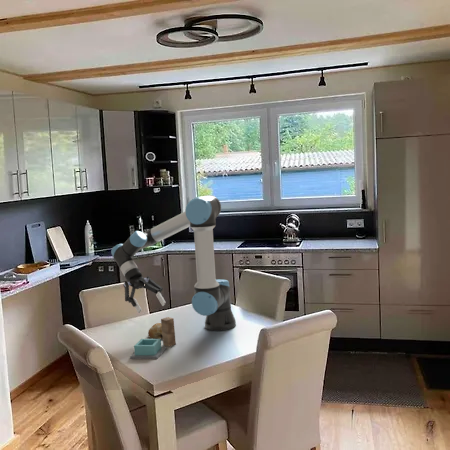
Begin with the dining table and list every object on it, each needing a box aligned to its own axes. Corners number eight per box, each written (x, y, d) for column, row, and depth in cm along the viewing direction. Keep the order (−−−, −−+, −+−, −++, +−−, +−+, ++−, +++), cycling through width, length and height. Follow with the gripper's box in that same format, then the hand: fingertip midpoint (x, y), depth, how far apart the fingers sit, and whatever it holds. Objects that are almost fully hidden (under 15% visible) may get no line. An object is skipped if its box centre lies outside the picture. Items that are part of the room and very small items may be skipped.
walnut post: (170, 342, 236) (168, 316, 235) (175, 344, 233) (173, 318, 232) (163, 345, 233) (160, 319, 232) (168, 346, 230) (166, 320, 229)
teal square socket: (166, 348, 228) (165, 337, 228) (157, 358, 217) (156, 347, 216) (140, 348, 231) (139, 337, 230) (130, 358, 219) (129, 347, 219)
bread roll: (151, 347, 242) (153, 334, 238) (144, 333, 250) (145, 320, 246) (171, 342, 247) (173, 329, 243) (163, 329, 254) (165, 316, 250)
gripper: (149, 272, 259) (170, 306, 250) (106, 282, 242) (126, 319, 233) (155, 262, 255) (176, 296, 246) (111, 272, 238) (132, 309, 229)
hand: (152, 307), depth 239 cm, fingers open, 13 cm apart
